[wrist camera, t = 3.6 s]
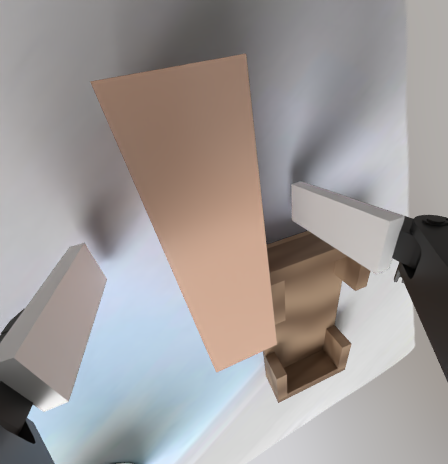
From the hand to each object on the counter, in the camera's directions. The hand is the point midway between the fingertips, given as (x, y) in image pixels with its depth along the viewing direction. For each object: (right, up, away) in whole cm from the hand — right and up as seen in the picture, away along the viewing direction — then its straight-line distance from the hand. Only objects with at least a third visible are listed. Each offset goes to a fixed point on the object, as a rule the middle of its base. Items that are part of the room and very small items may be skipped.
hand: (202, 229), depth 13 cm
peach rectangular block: (0, +1, +1) cm, 1 cm away
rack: (+10, -9, +9) cm, 16 cm away
